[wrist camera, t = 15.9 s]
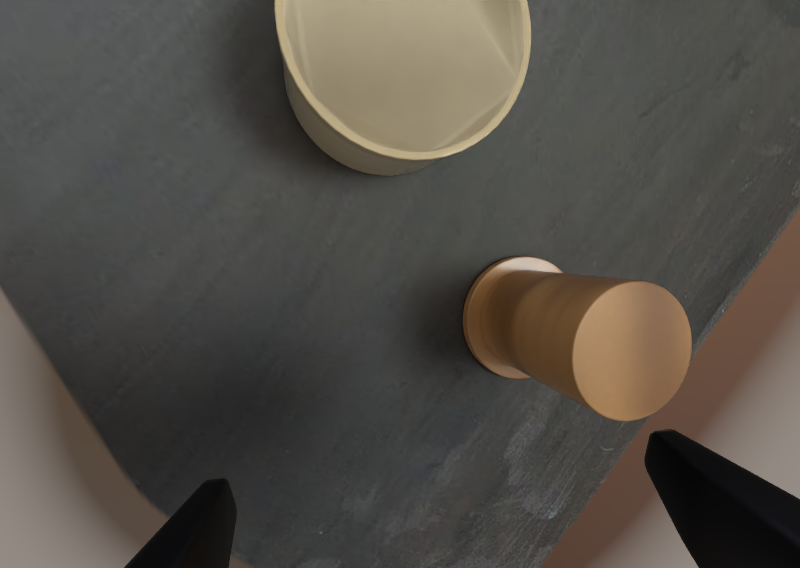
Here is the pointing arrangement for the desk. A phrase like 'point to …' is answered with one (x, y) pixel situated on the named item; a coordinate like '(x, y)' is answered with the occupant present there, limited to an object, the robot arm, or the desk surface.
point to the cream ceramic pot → (401, 75)
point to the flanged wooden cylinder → (580, 335)
